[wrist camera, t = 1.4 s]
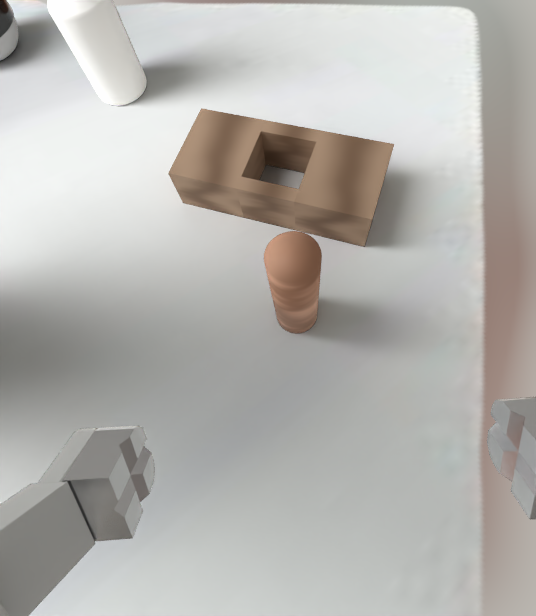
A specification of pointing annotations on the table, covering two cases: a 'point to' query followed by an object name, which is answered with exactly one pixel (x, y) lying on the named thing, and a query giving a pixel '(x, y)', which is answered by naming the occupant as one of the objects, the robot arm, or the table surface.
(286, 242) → the peg
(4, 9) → the pump dispenser
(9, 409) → the table surface
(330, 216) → the socket block
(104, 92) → the white bottle
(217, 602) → the table surface
